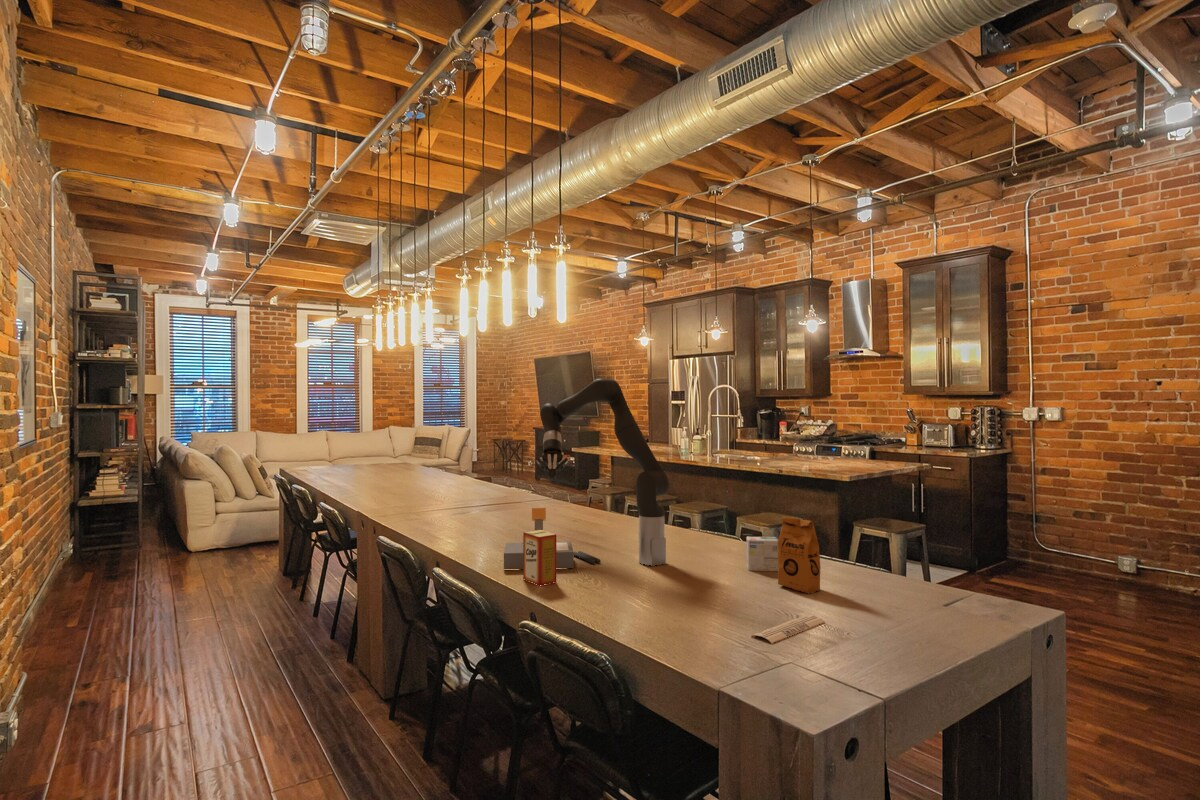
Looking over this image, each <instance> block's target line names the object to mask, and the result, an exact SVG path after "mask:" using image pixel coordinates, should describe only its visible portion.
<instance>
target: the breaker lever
mask: <svg viewBox="0 0 1200 800" xmlns="http://www.w3.org/2000/svg"><path fill="white" fill-rule="evenodd" d="M546 511H547V508H546V507H534V508H531V522H534V531H535V530H544V521H546V519H547V513H546Z"/></svg>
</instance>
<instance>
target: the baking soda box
mask: <svg viewBox="0 0 1200 800" xmlns="http://www.w3.org/2000/svg"><path fill="white" fill-rule="evenodd" d="M522 538H523V539H522V540H523V542H522V543H523V570H522V571H523V572H522V573H523V576H522V577H523V579H525V580H527V581H530V582H533V583H535V584H537V585H539V586H540V585H544V584H549V583H553V582H556V583H557V569H556V542H557V533H553V532H549V531H547V530H544V529H543V530H535V529H534V530H531V531H530V530H529V531H523V537H522ZM523 579H522V580H523ZM525 580H524V581H525ZM527 581H526V582H527ZM537 585H536V586H537ZM549 585H550V584H549ZM539 586H538V587H539ZM544 586H545V585H544ZM540 587H541V586H540Z"/></svg>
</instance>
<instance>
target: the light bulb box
mask: <svg viewBox="0 0 1200 800" xmlns="http://www.w3.org/2000/svg"><path fill="white" fill-rule="evenodd" d="M745 539H746V567H747V570H748V571H752V572H753V571H754V572H778V571H779V569H778V539H779V538H777V536H746V537H745Z"/></svg>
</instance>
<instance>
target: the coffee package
mask: <svg viewBox="0 0 1200 800" xmlns="http://www.w3.org/2000/svg"><path fill="white" fill-rule="evenodd" d="M781 521H782V525H781V529H780V533H779V536H778V538H777V539H778V569H779V571H777V577H778V578H777V579H778V580H777V584H778V585H779V586H783V587H785V588H789V589H791V588H792V590H794V591H797V592H800V591H801V592H802V593H805V594H807V593H808V595H810V594H812V593H811V592H813V593H816V591H817V592H820V591H821V556H820V546H819V541H818V536H817V532H816V527H815V525H814V522H813V521H814V520H807V519H802V518H801V519H800V518H797V517H792V516H791V517H790V516H783V517H782V520H781ZM801 592H800V593H801ZM809 593H810V594H809Z"/></svg>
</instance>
